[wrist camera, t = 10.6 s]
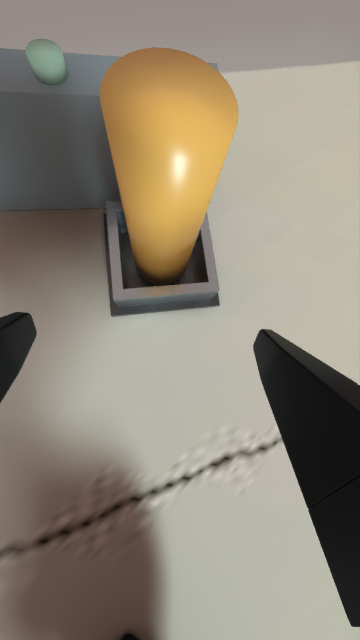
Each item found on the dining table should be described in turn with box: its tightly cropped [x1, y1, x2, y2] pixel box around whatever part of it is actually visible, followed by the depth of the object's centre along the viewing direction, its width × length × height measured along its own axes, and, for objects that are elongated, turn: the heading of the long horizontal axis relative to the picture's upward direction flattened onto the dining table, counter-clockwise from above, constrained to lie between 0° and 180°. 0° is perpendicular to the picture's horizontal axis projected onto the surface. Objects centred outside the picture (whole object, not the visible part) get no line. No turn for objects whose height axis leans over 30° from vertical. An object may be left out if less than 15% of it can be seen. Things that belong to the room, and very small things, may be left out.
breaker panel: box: [0, 39, 218, 211], centre depth 16 cm, size 20×4×10 cm, turn 97°
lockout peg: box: [100, 48, 238, 285], centre depth 14 cm, size 5×5×12 cm
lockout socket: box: [104, 201, 220, 317], centre depth 19 cm, size 10×10×3 cm
